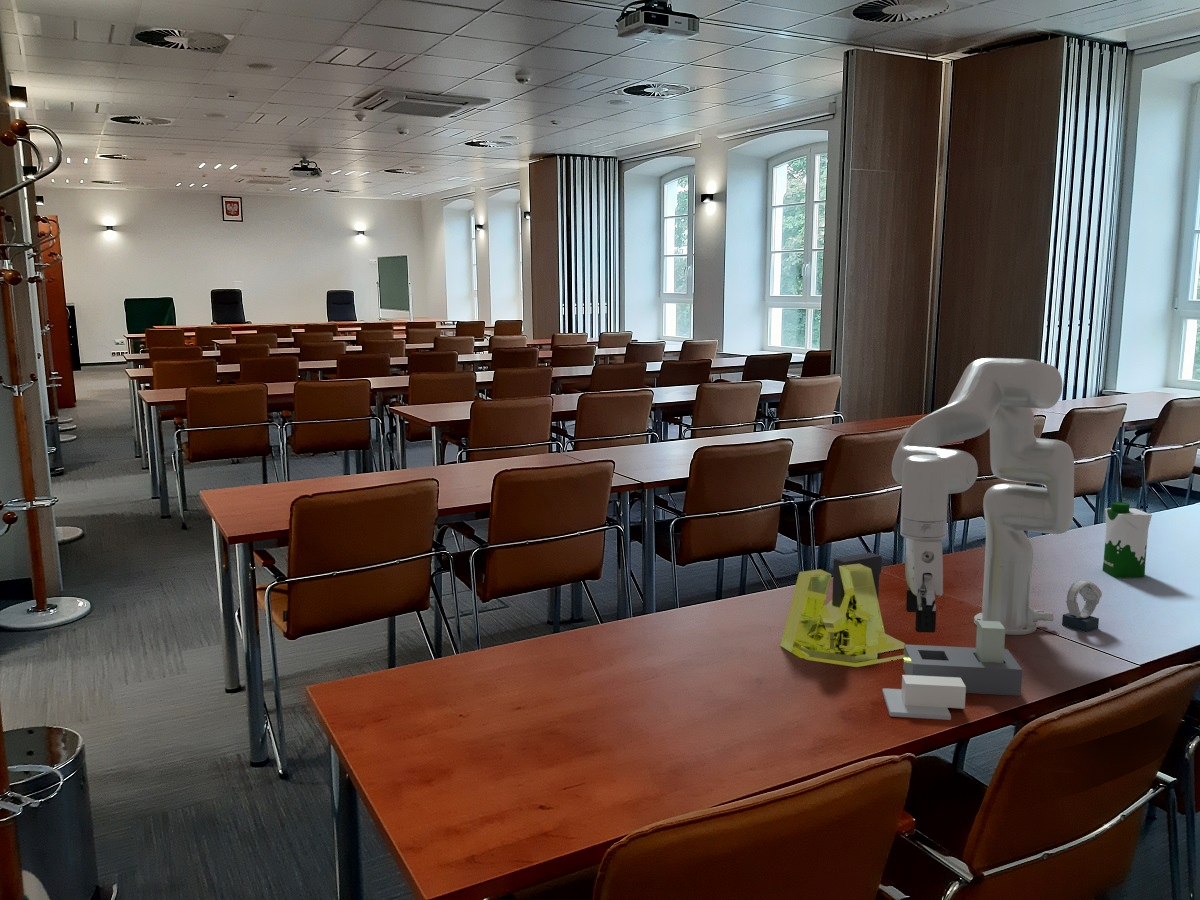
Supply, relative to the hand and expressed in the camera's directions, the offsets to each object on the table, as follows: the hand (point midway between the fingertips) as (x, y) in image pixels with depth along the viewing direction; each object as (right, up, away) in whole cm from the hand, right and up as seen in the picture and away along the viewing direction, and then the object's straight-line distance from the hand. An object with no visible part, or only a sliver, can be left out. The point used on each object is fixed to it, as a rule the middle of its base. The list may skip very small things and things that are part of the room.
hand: (920, 621), depth 160 cm
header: (+12, -14, +12) cm, 22 cm away
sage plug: (+17, -12, +11) cm, 23 cm away
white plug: (-2, -13, +2) cm, 13 cm away
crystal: (-4, -11, +30) cm, 32 cm away
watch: (+48, -9, +39) cm, 62 cm away
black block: (+1, -9, +46) cm, 47 cm away
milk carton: (+78, -3, +74) cm, 108 cm away
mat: (0, -15, +2) cm, 16 cm away
